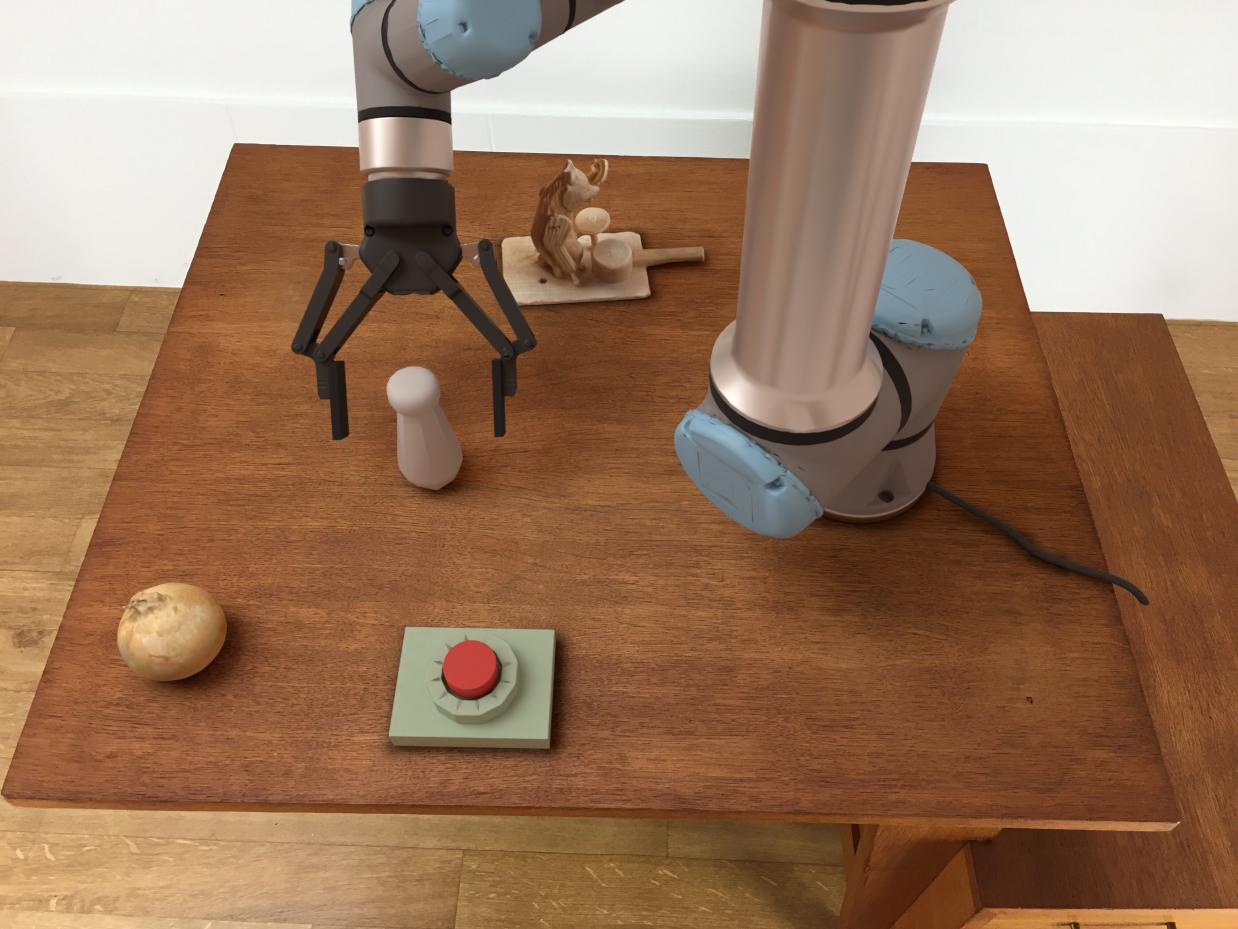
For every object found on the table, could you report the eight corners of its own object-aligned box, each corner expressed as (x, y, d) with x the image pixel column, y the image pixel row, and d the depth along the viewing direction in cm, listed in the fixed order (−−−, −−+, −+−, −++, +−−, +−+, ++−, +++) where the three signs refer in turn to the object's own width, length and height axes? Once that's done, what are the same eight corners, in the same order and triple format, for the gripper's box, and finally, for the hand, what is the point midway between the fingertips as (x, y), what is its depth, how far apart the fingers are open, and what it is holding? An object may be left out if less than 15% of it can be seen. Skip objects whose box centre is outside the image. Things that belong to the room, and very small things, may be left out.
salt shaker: (454, 503, 87) (433, 414, 76) (393, 492, 87) (364, 402, 77) (473, 452, 90) (455, 360, 80) (414, 442, 91) (389, 349, 80)
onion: (239, 597, 81) (210, 555, 75) (232, 686, 77) (202, 648, 71) (140, 610, 80) (104, 569, 75) (128, 700, 76) (88, 664, 70)
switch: (500, 649, 75) (498, 640, 73) (496, 699, 73) (493, 690, 71) (449, 648, 75) (446, 639, 73) (443, 698, 73) (439, 689, 71)
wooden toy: (501, 306, 101) (488, 202, 90) (501, 239, 107) (489, 134, 96) (709, 298, 102) (722, 194, 91) (698, 232, 108) (709, 127, 97)
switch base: (555, 640, 79) (553, 619, 76) (549, 749, 74) (547, 730, 71) (410, 638, 79) (401, 616, 76) (393, 746, 74) (383, 727, 71)
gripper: (561, 183, 83) (567, 427, 87) (269, 186, 82) (287, 432, 86) (558, 173, 76) (565, 440, 80) (238, 176, 75) (259, 445, 79)
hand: (420, 436), depth 83 cm, fingers open, 13 cm apart
